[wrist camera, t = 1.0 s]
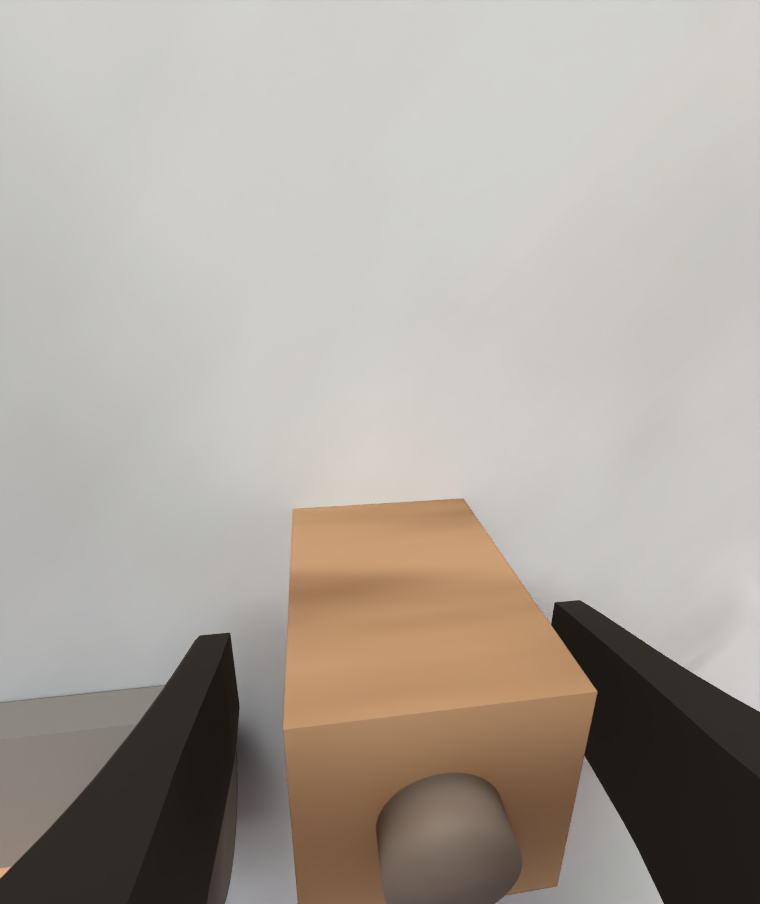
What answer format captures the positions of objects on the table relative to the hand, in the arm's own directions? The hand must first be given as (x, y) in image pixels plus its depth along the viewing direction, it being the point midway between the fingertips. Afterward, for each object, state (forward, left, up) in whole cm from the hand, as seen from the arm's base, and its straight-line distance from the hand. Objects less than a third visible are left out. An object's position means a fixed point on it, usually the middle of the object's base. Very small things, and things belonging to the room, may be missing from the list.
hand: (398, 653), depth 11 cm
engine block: (0, 0, -3) cm, 3 cm away
